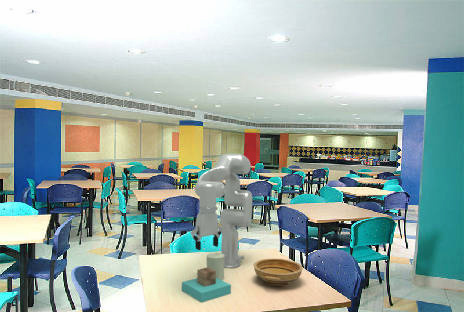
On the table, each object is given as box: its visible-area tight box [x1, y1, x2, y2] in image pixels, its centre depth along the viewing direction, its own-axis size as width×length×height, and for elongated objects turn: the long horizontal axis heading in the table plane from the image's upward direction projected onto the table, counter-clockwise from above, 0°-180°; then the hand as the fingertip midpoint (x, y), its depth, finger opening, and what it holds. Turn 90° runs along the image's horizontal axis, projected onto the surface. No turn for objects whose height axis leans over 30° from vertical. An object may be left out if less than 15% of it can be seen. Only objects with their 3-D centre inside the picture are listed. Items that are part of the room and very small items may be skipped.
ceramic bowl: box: [253, 258, 303, 287], centre depth 180 cm, size 30×24×8 cm
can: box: [206, 252, 225, 281], centre depth 184 cm, size 9×9×12 cm
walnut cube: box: [196, 266, 216, 287], centre depth 166 cm, size 6×6×6 cm
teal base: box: [181, 277, 232, 303], centre depth 166 cm, size 16×16×4 cm
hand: (207, 247), depth 166 cm, fingers open, 9 cm apart
